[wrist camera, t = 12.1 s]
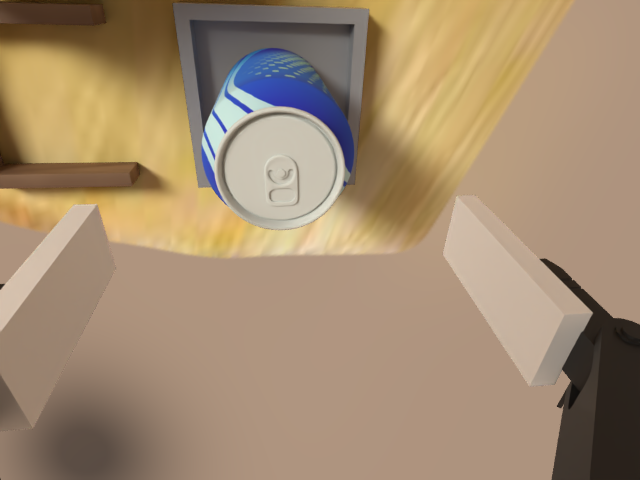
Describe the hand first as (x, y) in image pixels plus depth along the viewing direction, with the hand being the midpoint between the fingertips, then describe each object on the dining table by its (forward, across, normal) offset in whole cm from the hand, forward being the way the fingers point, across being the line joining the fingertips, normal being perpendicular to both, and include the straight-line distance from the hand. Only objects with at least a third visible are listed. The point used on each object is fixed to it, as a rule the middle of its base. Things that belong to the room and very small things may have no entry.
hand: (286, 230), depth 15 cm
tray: (+23, 0, 0) cm, 23 cm away
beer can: (+22, 0, 0) cm, 22 cm away
